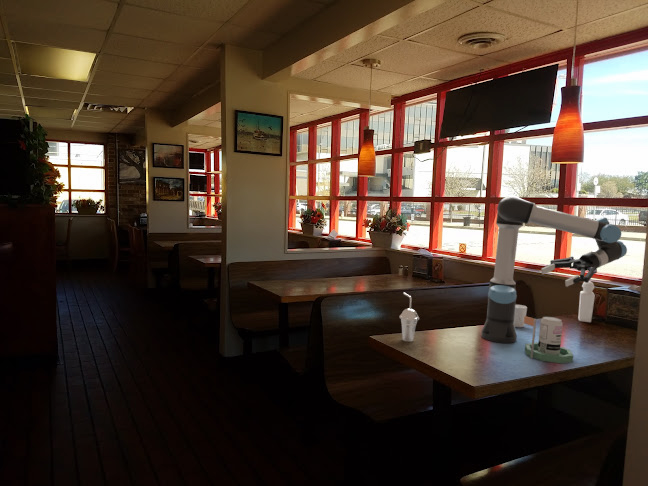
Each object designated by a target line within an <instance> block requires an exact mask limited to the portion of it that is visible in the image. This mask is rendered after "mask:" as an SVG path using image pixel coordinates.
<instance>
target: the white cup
mask: <svg viewBox="0 0 648 486" xmlns="http://www.w3.org/2000/svg"><path fill="white" fill-rule="evenodd" d="M527 311H528V307H527V306H526V305H524V304H523V305H522V304H515V315H514V327H515V328H524V327H525V325H526V324H525V323H524V317H525V316H527Z"/></svg>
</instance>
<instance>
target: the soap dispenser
mask: <svg viewBox="0 0 648 486" xmlns="http://www.w3.org/2000/svg"><path fill="white" fill-rule="evenodd" d="M581 287H582V290H581V291H580V292H579V303H578V304H579V306H578V321H579V322H584V323H592V318H593V310H594V305H595V304H594V303H595V298H596V295H595V293H594V292H593V290H594V289H595V284H594V283H593V281H591V280H589V282H588V283H586V282H585V281H583V283H582V285H581Z"/></svg>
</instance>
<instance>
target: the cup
mask: <svg viewBox="0 0 648 486" xmlns="http://www.w3.org/2000/svg"><path fill="white" fill-rule="evenodd" d="M524 323H525V324H524V325H528V326H531V327H532V328H533V329H532V338H531V339H532V340H531V343H525V347H524V351H525V355H526V356H528V355H529V356H528V357H530V359H532V358H534V359H535V360H539V361H543V362H548V363H556V364H566V363H570V362H571V363H572V362H574V354H573V352H572V351H571V350H570V349H568V348H565V347H563V346H560V355H559V356H557V355H550V354H543V353H540V352H538V342H536V341H535V337H536V328H537V319H536V318H533V317H529V316H527V315H526V316H525V317H524Z"/></svg>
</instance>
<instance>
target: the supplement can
mask: <svg viewBox="0 0 648 486" xmlns="http://www.w3.org/2000/svg"><path fill="white" fill-rule="evenodd" d="M563 326H564V324H563V322H562V319H560V318H557V317H553V316H543V317H542V318H541V320H540V324H539V333H538V342H537V343H538V352H540V353H543V354H550V355H557V356H559V355H560V347H562V345H561V344H562V337H563V336H562V334H563Z"/></svg>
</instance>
